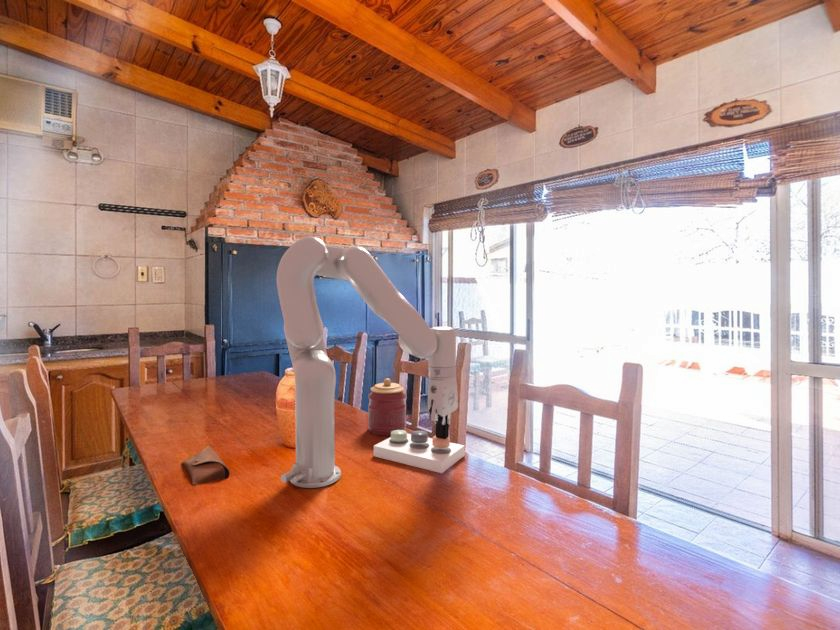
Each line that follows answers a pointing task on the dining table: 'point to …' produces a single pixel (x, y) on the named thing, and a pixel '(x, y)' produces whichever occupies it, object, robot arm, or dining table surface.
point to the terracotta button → (440, 442)
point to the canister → (386, 408)
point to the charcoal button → (419, 436)
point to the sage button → (398, 436)
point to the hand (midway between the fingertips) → (442, 437)
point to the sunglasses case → (206, 467)
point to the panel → (420, 454)
